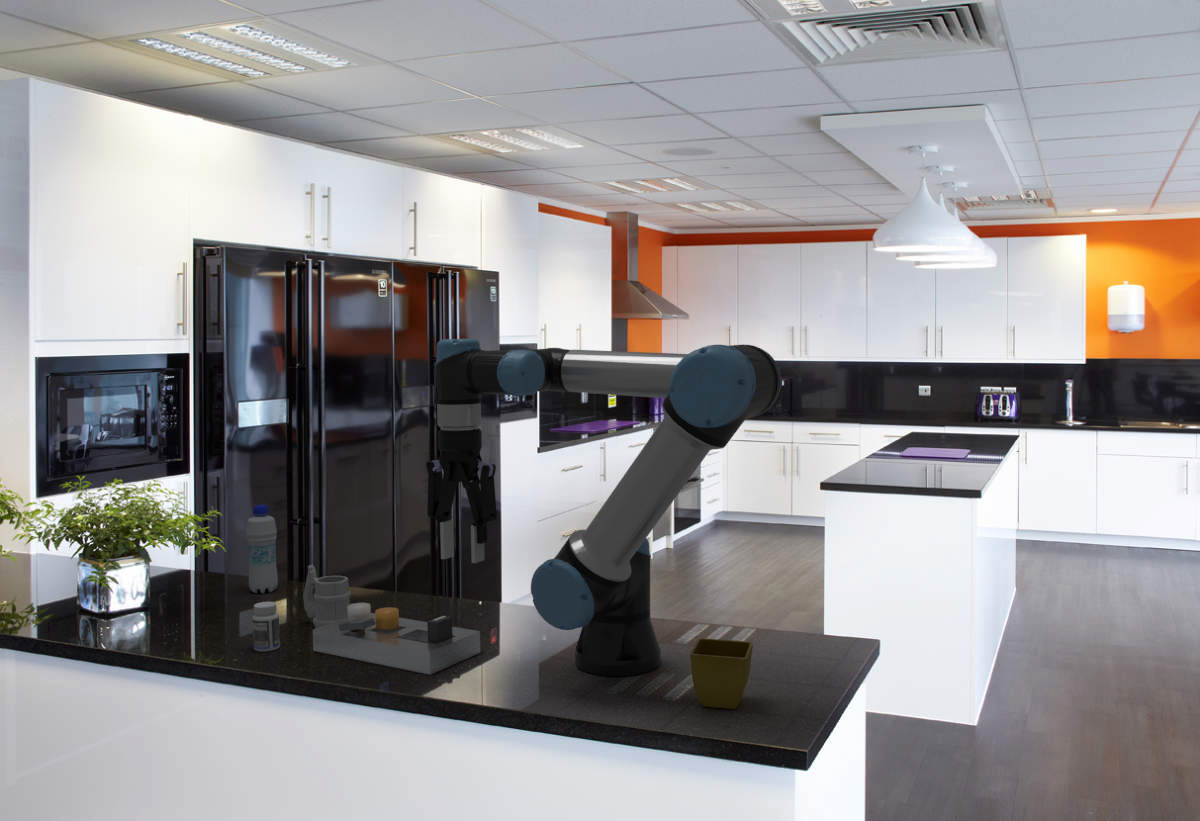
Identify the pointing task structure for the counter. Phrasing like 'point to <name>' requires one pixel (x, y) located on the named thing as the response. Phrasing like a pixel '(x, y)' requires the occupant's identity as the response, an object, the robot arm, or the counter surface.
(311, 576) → the mug
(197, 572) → the counter surface
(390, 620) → the orange button
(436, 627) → the slider knob
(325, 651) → the panel
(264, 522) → the bottle
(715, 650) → the flower pot
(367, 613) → the cream button
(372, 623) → the block
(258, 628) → the pill bottle
